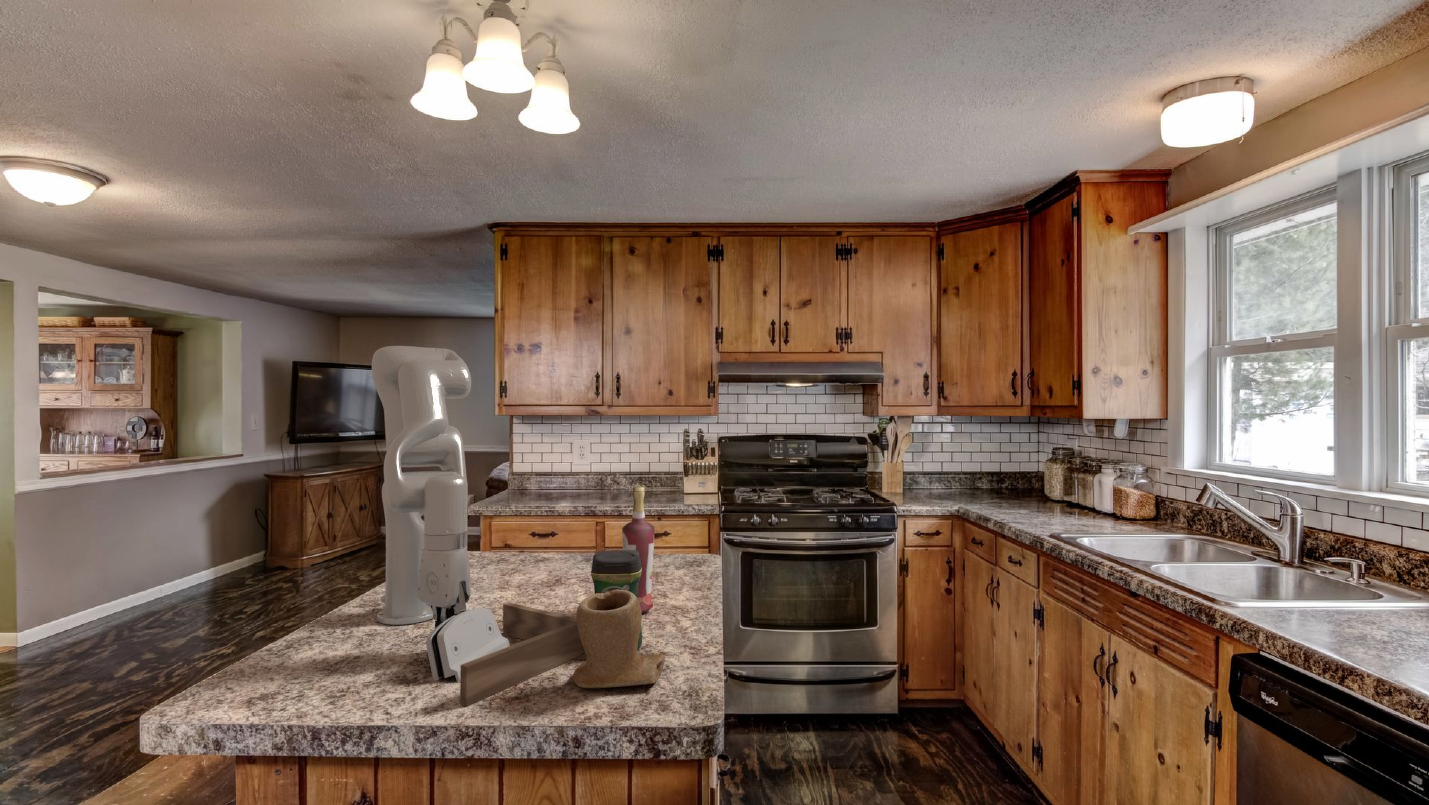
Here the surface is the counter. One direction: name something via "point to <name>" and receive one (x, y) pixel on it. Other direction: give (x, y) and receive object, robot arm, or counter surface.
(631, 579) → the coffee jar
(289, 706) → the counter surface
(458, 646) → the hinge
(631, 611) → the tan boot-shaped piece
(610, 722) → the counter surface
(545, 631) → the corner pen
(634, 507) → the liquor
